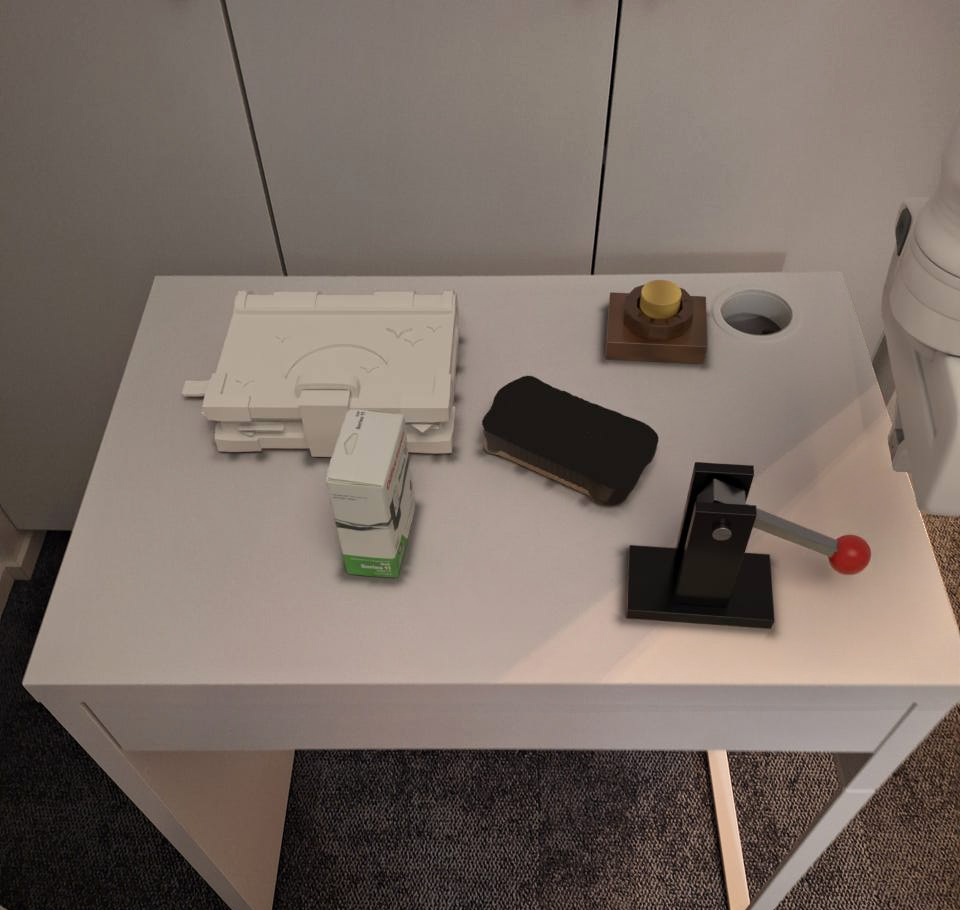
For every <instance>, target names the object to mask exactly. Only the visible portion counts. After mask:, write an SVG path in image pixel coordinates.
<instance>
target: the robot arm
mask: <svg viewBox="0 0 960 910" xmlns="http://www.w3.org/2000/svg"><path fill="white" fill-rule="evenodd" d="M939 173H940V174H939V179H938V182H937V185H936V187H935V189H934V191H933V193H932V194H931V195H930V196H919V197H918V196H917V197H906V198H904V199H903V201H902V202H901V204H900V207H899V209H898V212H897V216H896V218H895V221H894V222H895V223H894V233H895V234H894V236H895V244H894V248H893V251H892V254H891V257H890V261H889V265H888V269H887V273H886V277H885V280H884V284H883V289H882V294H881V305H880V315H881V316H880V317H881V320H882V325H883V330H884V335H885V336H884V337H885V341H886V346H887V352H888V357H889V363H890V367H891V368H890V369H891V373H892V379H893V384H894V389H895V394H896V395H895V396H896V397H895V405H894V412H893V420H892V425H891V428H890V430H889V433H888V435H887V439H886V440H887V445H888V450H889V454H890V461H891V467H892V471H893V472H896V473H910V476H911V480H912V481H911V482H912V486H913V491H914V496H915V502H916V506H917V508H918V511H919V512H921V513H923V514H926V515H931V516H940V517H960V102H959V103H958V105H957V108H956V110H955V113H954V116H953V119H952V121H951V124H950V127H949V130H948V132H947V135H946V138H945V141H944V143H943V147H942V150H941V156H940V172H939Z"/></svg>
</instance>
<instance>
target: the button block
mask: <svg viewBox="0 0 960 910" xmlns="http://www.w3.org/2000/svg"><path fill="white" fill-rule="evenodd" d="M644 285H645V284H640V285H639V286H635V287H634V288H633V289H632V290H631V291H630V292H614V291H613V292H609V299H608V311H607V326H606V341H605V360H613V361H637V362H638V361H639V362H654V363H655V362H656V363H675V364H695V365H696V364H698V365H704V364H705V360H706V356H707V351H708V319H707V317H708V316H707V296H705V295H704V296H703V295H690V293H688V291H687V290H686V289H684V288H682V287H680V286H678V287H679V288H680V289H681V293H682V295H681V301H680V307H679V310H678V312H677V313H676V314H675V315H674V316H672V317H670V318H667V319H658V318H651V317H649V316H647V315H645V314H644V313H643V312H642V311H641V309H640V298H641V290H642V288H643V286H644Z"/></svg>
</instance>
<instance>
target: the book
mask: <svg viewBox="0 0 960 910" xmlns="http://www.w3.org/2000/svg"><path fill="white" fill-rule="evenodd" d="M459 311H460V310H459V299H458V293H456V291H455V289H444V290H443V291H442V293H417V291H416V290H376V291H374V293H323V292H322V291H321V290H276V291H274V293H254V291H253V290H252V289H241V290H238V292H237V294H236V295H235V298H234V302H233V312H232V315H231V319H230V322H229V325H228V330H227V332H226V336H225V340H224V343H223V347H222V350H221V353H220V357H219V360H218V363H217V367H216V370H215V372H212V374H211V376H210V378H209V379H208V380H185V382H184V384H183V388H182V390H181V396H182V397H203V400H202V401H203V402H202V406H201V408H202V411H201V412H200V414H201V415H203V416H205V418H206V420H208V421H216V424H215V430H214V438H213V439H214V443H215V445H216V447H217V451H218V452H227V453H228V452H229V453H243V452H262V450H263V449H309V452H310V456H311V457H312V458H319V457H320V458H332V455H333V453H334V450H335V445H336V442H337V440H338V437H339V435H340V432H341V428H342V425H343V422H344V420H345V416H346V413H347V412H348V411H349V410H350V409H351V408H353V407H354V408H362V409H373V410H381V411H389V412H395V413H401V414H404V417H405V426H406V435H407V443H408V453H419V454H436V455H437V454H452V453H453V447H454V437H455V436H454V432H455V415H456V405H454V400H455V387H456V375H457V364H458V352H459V344H460V319H459V318H460V314H459Z"/></svg>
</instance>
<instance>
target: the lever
mask: <svg viewBox="0 0 960 910" xmlns="http://www.w3.org/2000/svg"><path fill="white" fill-rule="evenodd" d="M697 502H709V503H725V504H741V505H749V504H747V501H745V491H744V490H742V489H740V488H737V487H735V486H732V485H730V484H727V483H725V482H722V481H720V480H717V479H715V478H714V479H713V480H712V481H711V482H710V483H709V484H708V485H707V486H706V487H705V488H704V489H703V490H702V491H701V492H700V493H699V494H698V496H697ZM756 510H757V516H756V520H755V523H754V526H753V528H754V529H757V530H760V531H762V532H765V533H767V534H770V535H772V536H775V537H778V538H779V539H783V540H785V541H787V542H790V543H793V544H795V545H797V546H800V547H803V548H805V549H807V550H811V551H813V552H815V553H818V554H821V555H823V556H826V557H827V560H828V563H829V565H830V567H831V568H832V569H833V570H834V571H835V572H836V573H838V574H840V575H845V576H854V575H858V574H860V573H861V572H863V571H864V570H865V569H866V568H867V567H868V566H869V564H870V562H871V559H872V550H871V547H870V545H869V542H867V541H866V540H865V539H864V538H863V537H861V536H859V535H856V534H844V535H841V536H838V537H837V538H836V539H835V538H833V537H830V536H828V535H825V534H822V533H821V532H818V531H815V530H813V529H811V528H808V527H805V526H804V525H803V526H802V525H800V524H798V523H796V522H792V521H790V520H788V519H785V518H782V517H780V516H777V515H775V514H772V513H770V512H767V511H765V510H762V509H761V508H758V507H756Z"/></svg>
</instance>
